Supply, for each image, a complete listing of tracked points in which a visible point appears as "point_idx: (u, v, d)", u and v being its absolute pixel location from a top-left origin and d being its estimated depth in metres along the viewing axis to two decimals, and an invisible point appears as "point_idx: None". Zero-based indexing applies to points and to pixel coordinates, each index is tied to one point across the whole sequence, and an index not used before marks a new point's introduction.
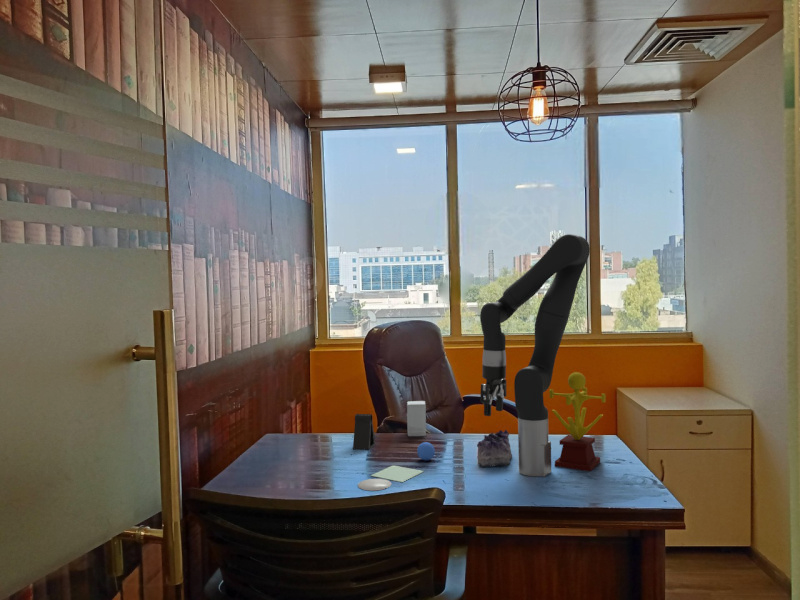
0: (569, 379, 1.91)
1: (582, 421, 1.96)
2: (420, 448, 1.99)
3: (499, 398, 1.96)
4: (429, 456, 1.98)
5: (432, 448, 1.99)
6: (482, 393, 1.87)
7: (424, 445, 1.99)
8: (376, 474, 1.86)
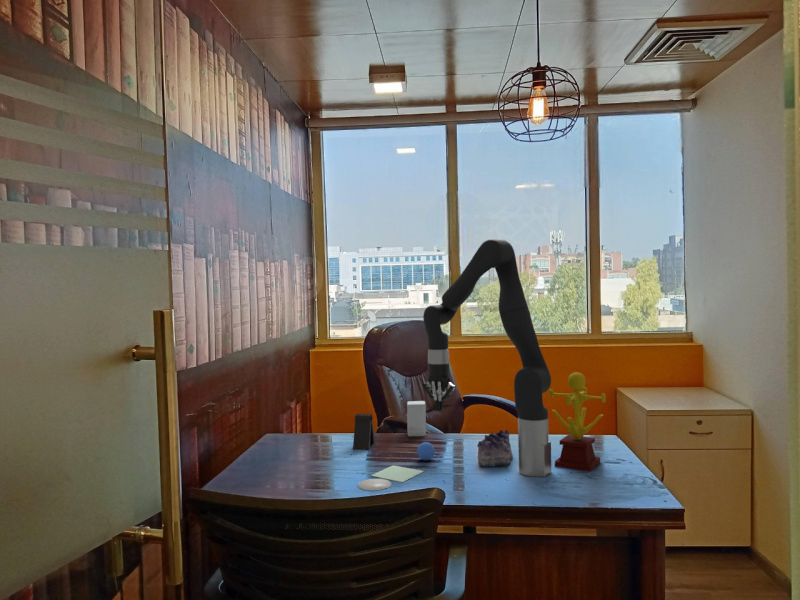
0: (569, 379, 1.91)
1: (582, 421, 1.96)
2: (420, 448, 1.99)
3: None
4: (429, 456, 1.98)
5: (432, 448, 1.99)
6: None
7: (424, 445, 1.99)
8: (376, 474, 1.86)
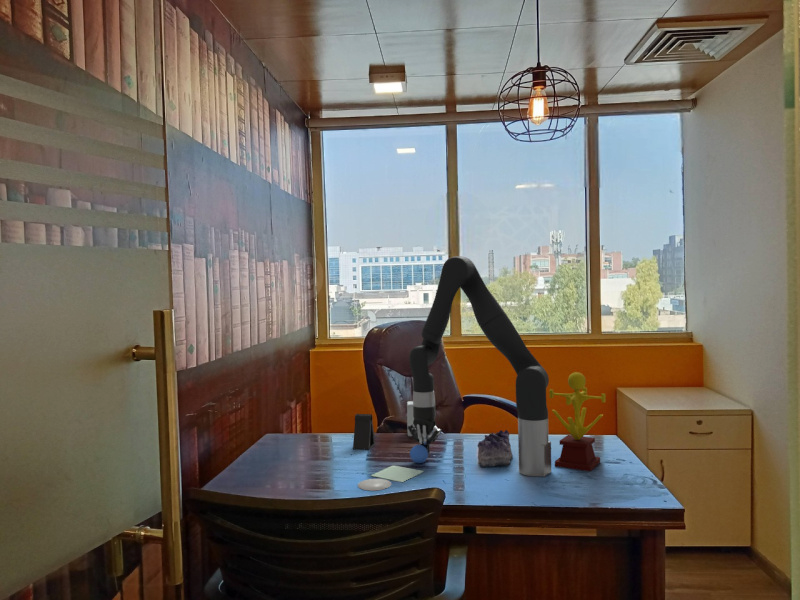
0: (569, 379, 1.91)
1: (582, 421, 1.96)
2: (412, 458, 1.96)
3: None
4: (424, 460, 1.96)
5: (423, 453, 1.95)
6: None
7: (415, 454, 1.95)
8: (376, 474, 1.86)
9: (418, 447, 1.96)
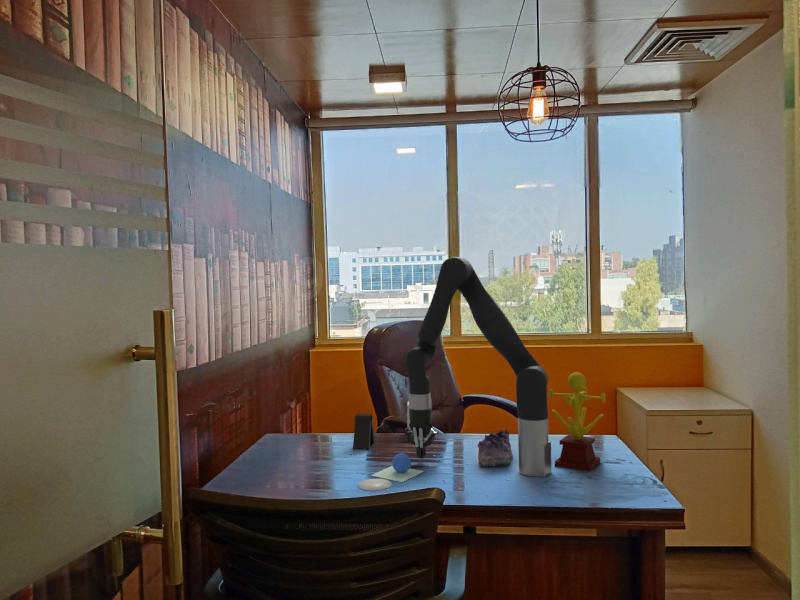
0: (569, 379, 1.91)
1: (582, 421, 1.96)
2: None
3: None
4: (408, 458, 1.87)
5: (410, 463, 1.89)
6: None
7: None
8: (376, 474, 1.86)
9: None
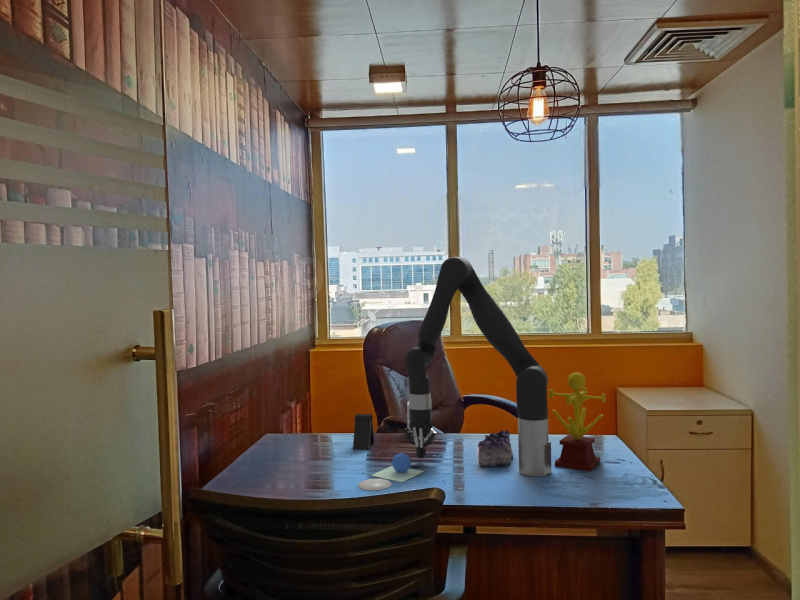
0: (569, 379, 1.91)
1: (582, 421, 1.96)
2: None
3: None
4: (408, 458, 1.87)
5: (410, 463, 1.89)
6: None
7: None
8: (376, 474, 1.86)
9: None
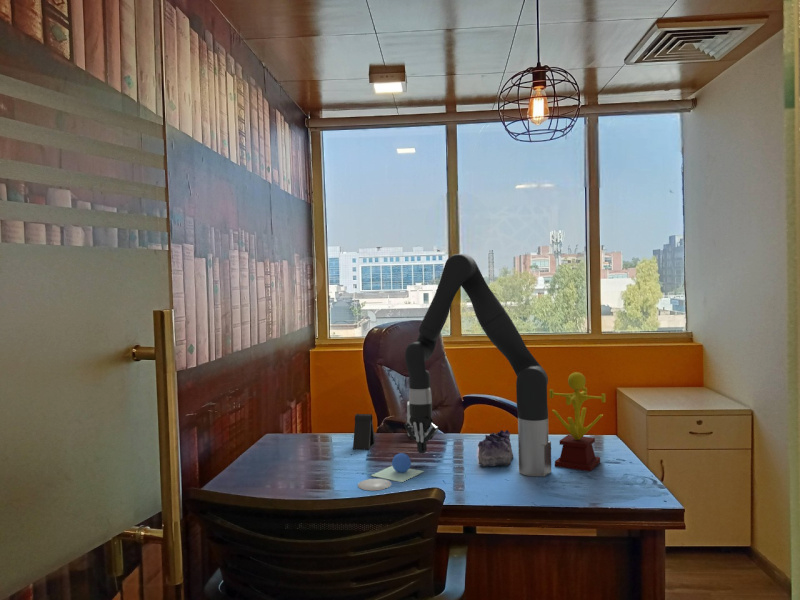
0: (569, 379, 1.91)
1: (582, 421, 1.96)
2: None
3: None
4: (408, 458, 1.87)
5: (410, 463, 1.89)
6: None
7: None
8: (376, 474, 1.86)
9: None
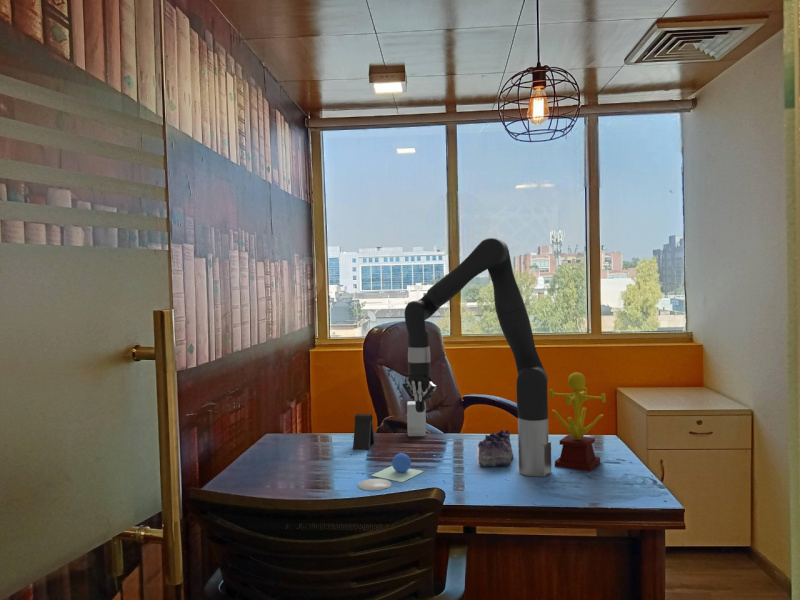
0: (569, 379, 1.91)
1: (582, 421, 1.96)
2: None
3: None
4: (408, 458, 1.87)
5: (410, 463, 1.89)
6: None
7: None
8: (376, 474, 1.86)
9: None
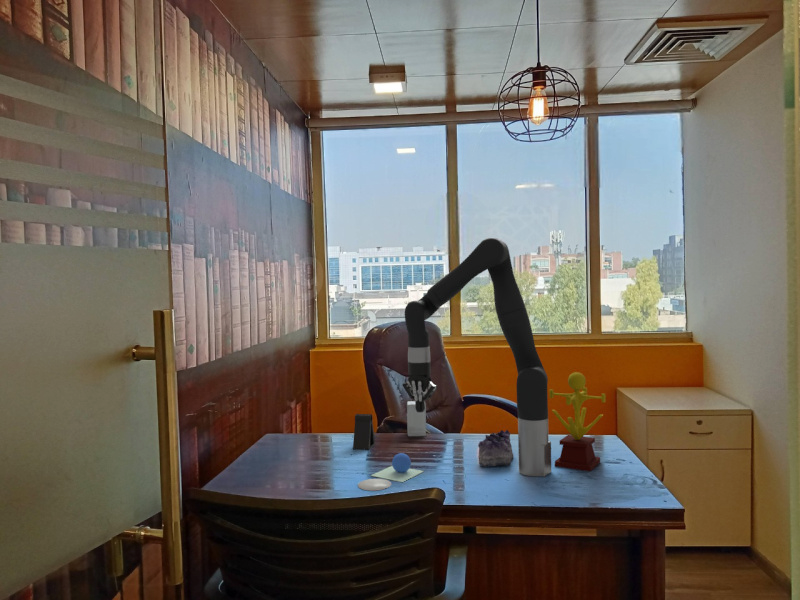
0: (569, 379, 1.91)
1: (582, 421, 1.96)
2: None
3: None
4: (408, 458, 1.87)
5: (410, 463, 1.89)
6: None
7: None
8: (376, 474, 1.86)
9: None
